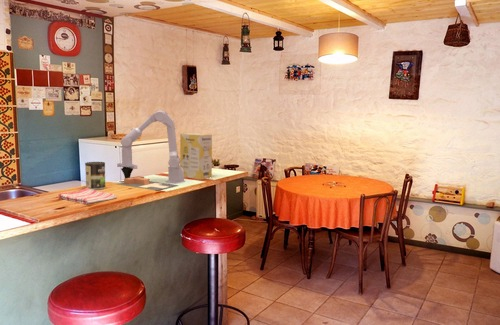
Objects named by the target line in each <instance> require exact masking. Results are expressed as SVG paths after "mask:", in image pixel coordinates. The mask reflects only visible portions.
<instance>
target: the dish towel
mask: <svg viewBox="0 0 500 325" xmlns="http://www.w3.org/2000/svg"><path fill="white" fill-rule="evenodd" d="M58 198H59V199H61V200H64V201H69V202H74V203H79V204H82V205H83V204H84V205H92V204H97V203H101V202H102V203H103V202H106V201H111V200H115V199H117V195H116V194H113V193H110V192H101V191H99V190H92V189H89V188H88V187H87V188H86V187H85V188H84V189H80V190H78V191H73V192H60V193H58Z"/></svg>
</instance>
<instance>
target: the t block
mask: <svg viewBox="0 0 500 325" xmlns="http://www.w3.org/2000/svg"><path fill="white" fill-rule="evenodd" d="M149 181H150V178H145V176H141V175H137V176H133V177H131V176H130V178H126V179H125V178H124V179H123V183H124V184H128V185H130V184H140V185H148V184H149Z"/></svg>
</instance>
